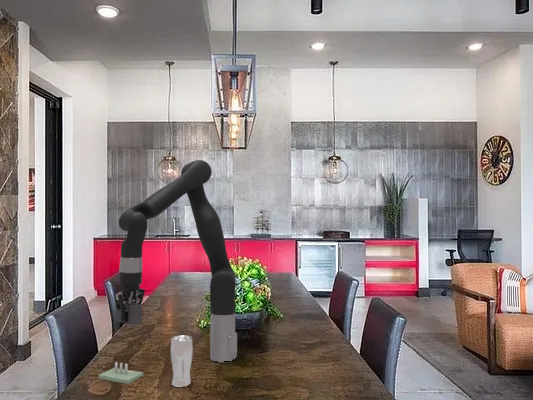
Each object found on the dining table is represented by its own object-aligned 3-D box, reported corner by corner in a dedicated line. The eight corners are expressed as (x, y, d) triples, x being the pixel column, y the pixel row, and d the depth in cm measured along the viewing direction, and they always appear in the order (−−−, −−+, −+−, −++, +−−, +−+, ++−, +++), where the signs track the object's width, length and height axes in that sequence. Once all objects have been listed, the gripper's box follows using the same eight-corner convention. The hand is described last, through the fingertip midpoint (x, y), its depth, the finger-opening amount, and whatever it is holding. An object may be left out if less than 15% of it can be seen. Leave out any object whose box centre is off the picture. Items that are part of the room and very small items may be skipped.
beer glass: (193, 381, 162) (194, 335, 162) (191, 388, 155) (191, 340, 155) (172, 381, 162) (172, 335, 162) (168, 389, 155) (169, 340, 155)
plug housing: (141, 322, 168) (141, 304, 168) (134, 324, 165) (135, 306, 165) (122, 319, 171) (123, 302, 171) (115, 321, 168) (116, 303, 168)
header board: (143, 376, 166) (143, 361, 166) (128, 383, 159) (128, 369, 159) (114, 371, 171) (114, 357, 171) (98, 378, 163) (98, 364, 163)
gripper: (126, 273, 160) (123, 327, 160) (152, 269, 173) (150, 318, 173) (107, 271, 163) (105, 324, 163) (135, 267, 176) (133, 315, 176)
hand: (128, 320), depth 168 cm, fingers closed on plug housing, 3 cm apart
